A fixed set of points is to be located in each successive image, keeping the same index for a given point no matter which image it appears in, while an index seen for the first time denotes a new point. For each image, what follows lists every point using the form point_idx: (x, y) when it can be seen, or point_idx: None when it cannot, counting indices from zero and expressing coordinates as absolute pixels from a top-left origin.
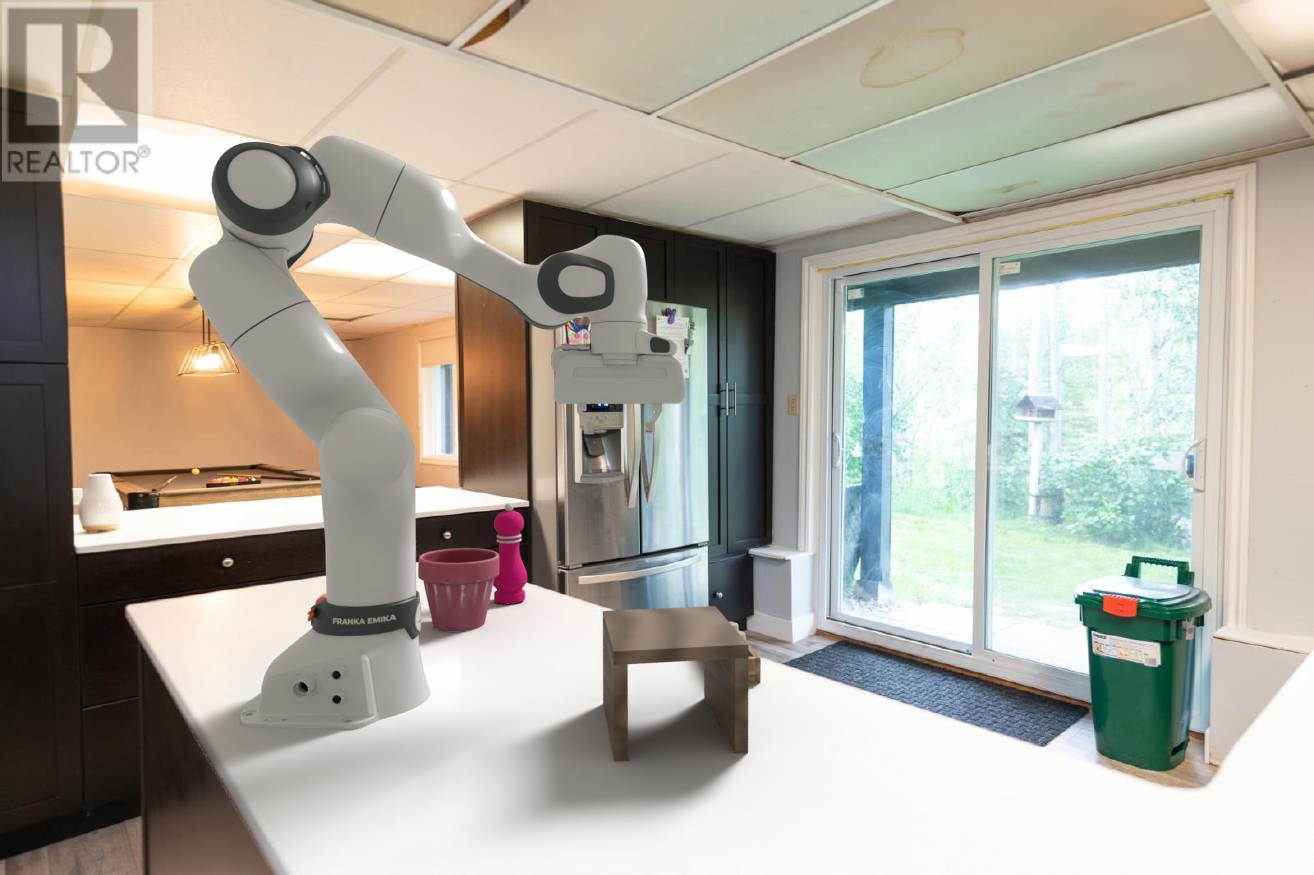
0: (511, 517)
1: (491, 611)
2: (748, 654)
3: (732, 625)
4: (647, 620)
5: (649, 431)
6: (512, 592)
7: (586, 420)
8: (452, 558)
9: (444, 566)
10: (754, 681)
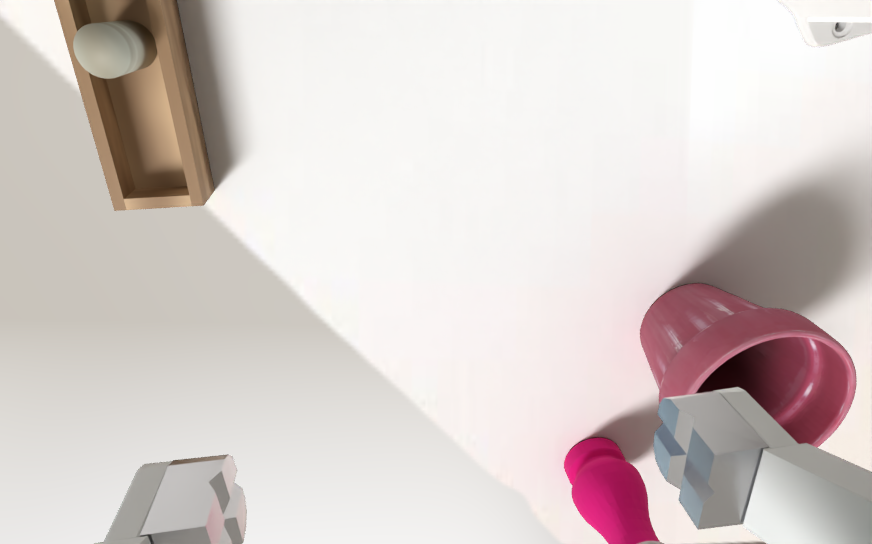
0: None
1: (625, 396)
2: None
3: (89, 42)
4: None
5: (191, 462)
6: (594, 457)
7: (793, 457)
8: None
9: (805, 328)
10: None
